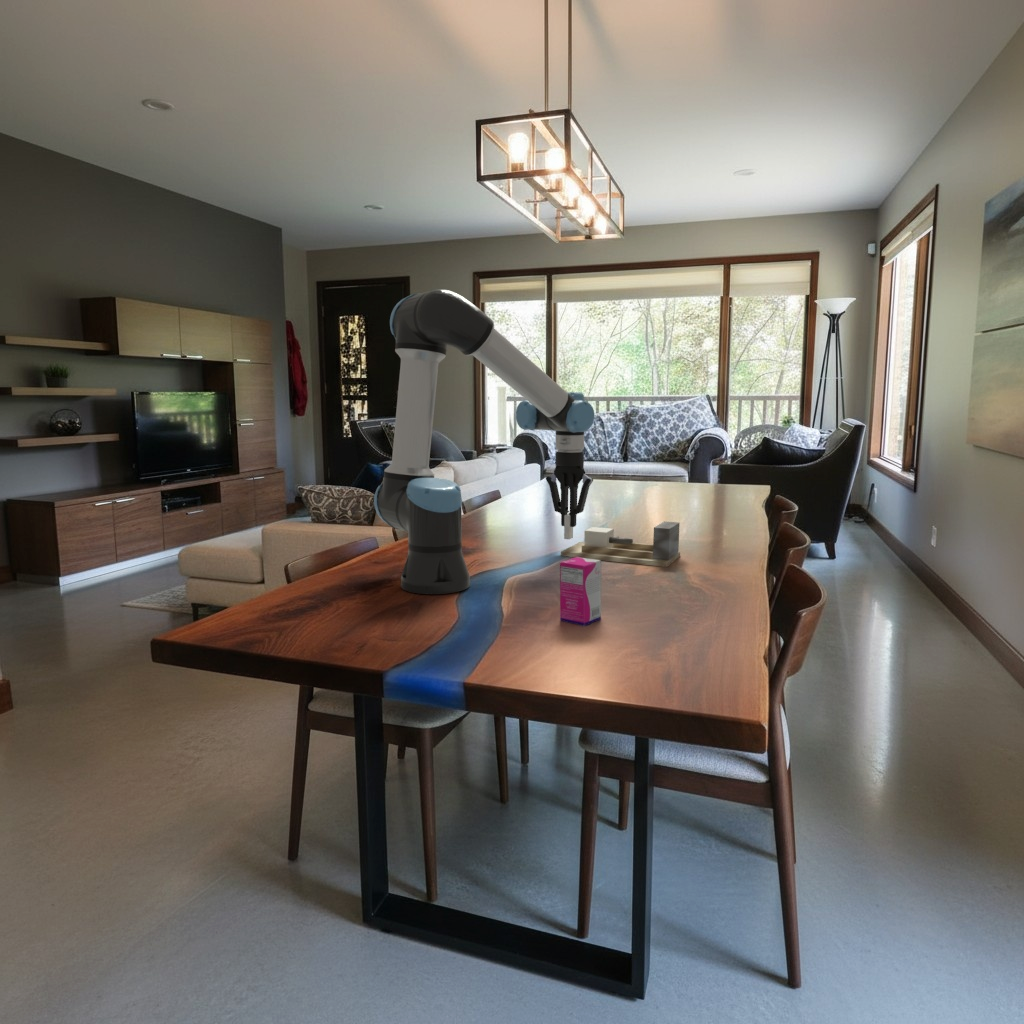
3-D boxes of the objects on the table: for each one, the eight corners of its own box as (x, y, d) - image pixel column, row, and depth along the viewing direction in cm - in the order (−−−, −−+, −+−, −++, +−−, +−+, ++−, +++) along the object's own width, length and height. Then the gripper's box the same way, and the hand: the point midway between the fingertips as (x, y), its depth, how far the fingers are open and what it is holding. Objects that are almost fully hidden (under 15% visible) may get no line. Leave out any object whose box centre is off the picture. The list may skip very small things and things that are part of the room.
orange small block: (618, 545, 203) (618, 538, 203) (619, 544, 204) (619, 537, 204) (620, 545, 203) (620, 538, 203) (621, 544, 204) (622, 537, 204)
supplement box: (575, 613, 146) (576, 555, 145) (601, 619, 143) (603, 560, 141) (558, 620, 142) (559, 561, 140) (584, 626, 138) (585, 565, 137)
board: (560, 555, 197) (561, 521, 196) (580, 546, 210) (580, 513, 208) (666, 566, 185) (667, 530, 184) (680, 555, 198) (681, 521, 196)
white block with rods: (584, 549, 199) (584, 530, 198) (597, 542, 208) (597, 524, 207) (628, 553, 193) (628, 534, 193) (639, 546, 202) (640, 528, 202)
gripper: (541, 451, 199) (540, 538, 203) (587, 452, 194) (586, 543, 197) (552, 449, 206) (551, 534, 210) (597, 450, 200) (596, 538, 204)
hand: (568, 538), depth 203 cm, fingers closed
